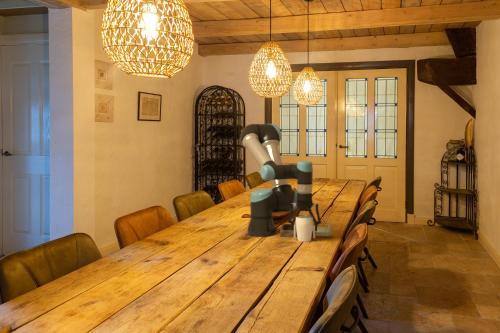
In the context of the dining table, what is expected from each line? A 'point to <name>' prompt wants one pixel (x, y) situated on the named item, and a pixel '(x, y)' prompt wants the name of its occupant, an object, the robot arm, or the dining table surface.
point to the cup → (304, 227)
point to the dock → (288, 231)
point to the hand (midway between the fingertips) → (304, 237)
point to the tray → (324, 230)
